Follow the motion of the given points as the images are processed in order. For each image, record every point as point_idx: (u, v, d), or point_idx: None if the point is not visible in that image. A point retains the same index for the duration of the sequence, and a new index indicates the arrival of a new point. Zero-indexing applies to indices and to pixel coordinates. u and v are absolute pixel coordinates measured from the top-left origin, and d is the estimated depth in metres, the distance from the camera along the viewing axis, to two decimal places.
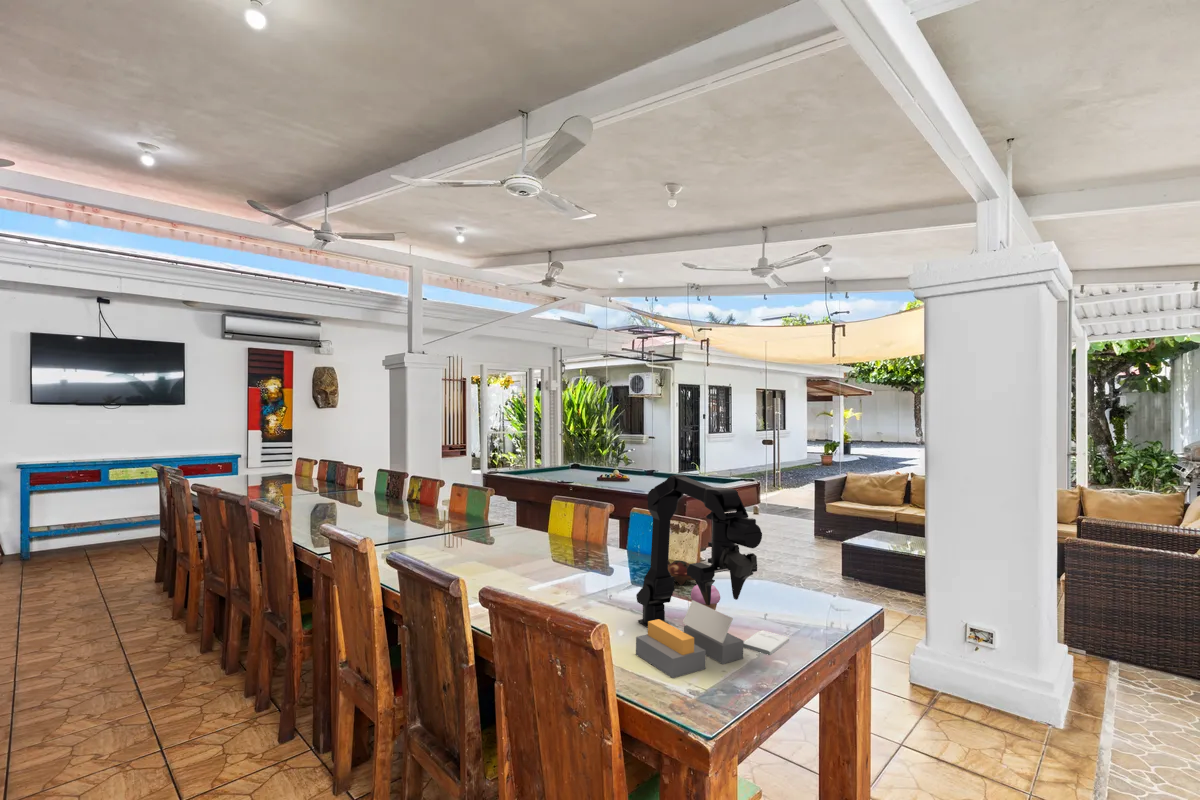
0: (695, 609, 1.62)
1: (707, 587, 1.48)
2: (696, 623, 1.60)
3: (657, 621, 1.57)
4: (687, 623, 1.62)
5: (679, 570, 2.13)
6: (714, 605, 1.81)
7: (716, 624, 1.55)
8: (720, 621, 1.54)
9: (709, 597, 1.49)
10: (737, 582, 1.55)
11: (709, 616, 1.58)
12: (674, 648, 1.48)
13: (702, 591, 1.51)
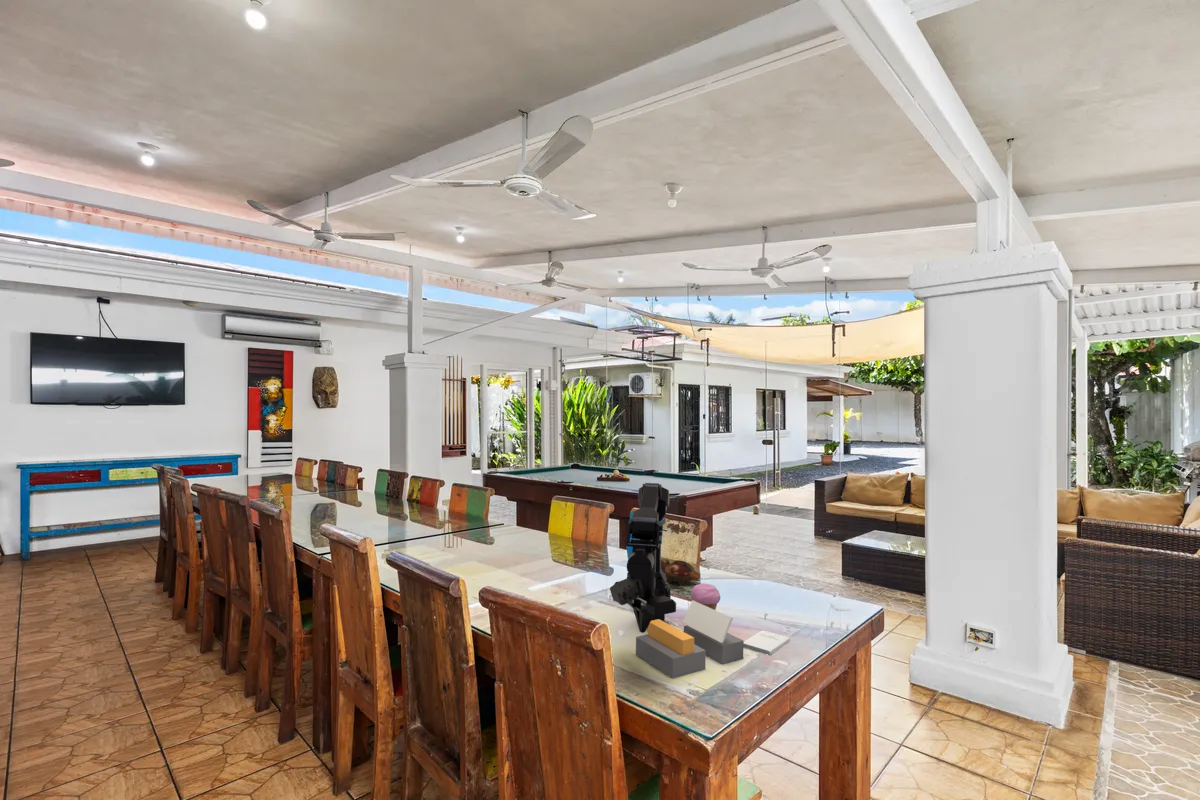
0: (695, 609, 1.62)
1: (633, 610, 1.48)
2: (696, 623, 1.60)
3: (657, 621, 1.57)
4: (687, 623, 1.62)
5: (679, 570, 2.13)
6: (714, 605, 1.81)
7: (716, 624, 1.55)
8: (720, 621, 1.54)
9: (638, 623, 1.47)
10: None
11: (709, 616, 1.58)
12: (674, 648, 1.48)
13: None
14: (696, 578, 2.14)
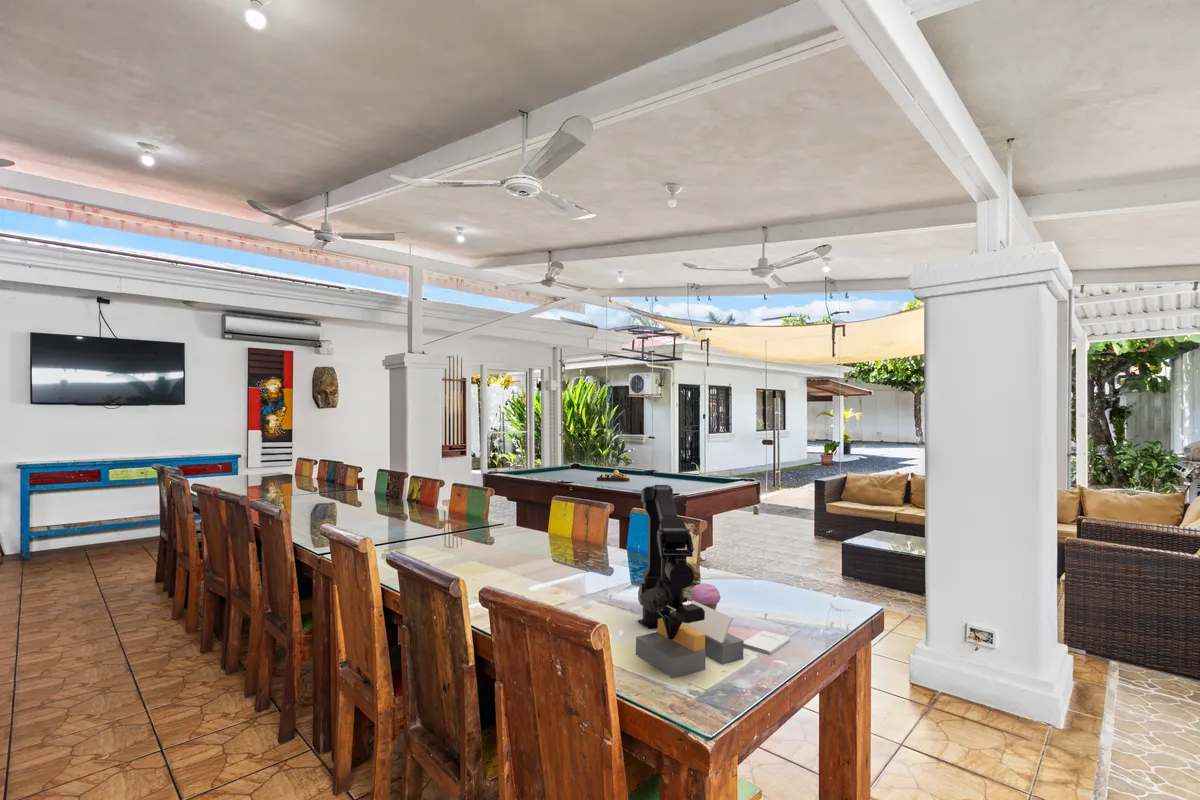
0: None
1: (662, 617, 1.53)
2: (696, 623, 1.60)
3: None
4: (687, 623, 1.62)
5: None
6: (714, 605, 1.81)
7: (716, 624, 1.55)
8: (720, 621, 1.54)
9: (666, 630, 1.52)
10: None
11: (709, 616, 1.58)
12: (685, 645, 1.49)
13: None
14: (696, 578, 2.14)
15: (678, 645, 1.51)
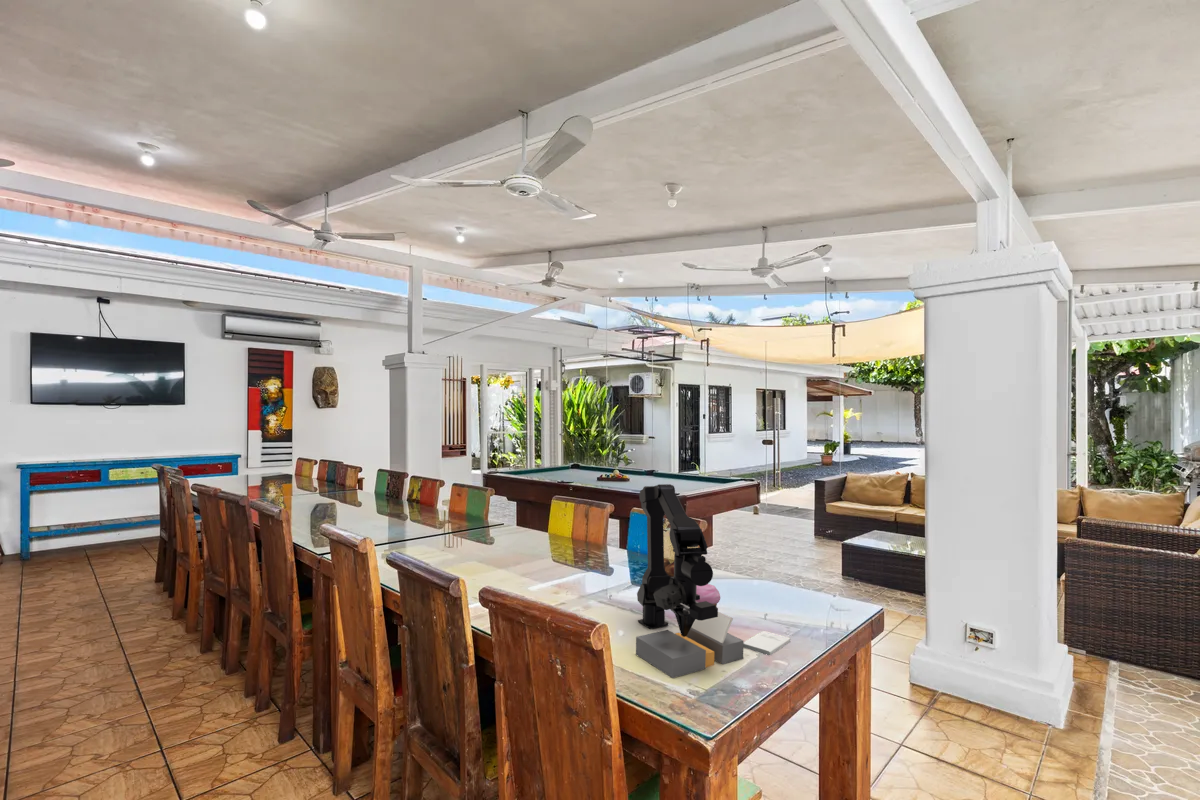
0: None
1: (675, 615, 1.55)
2: (696, 623, 1.60)
3: None
4: None
5: None
6: None
7: (716, 624, 1.55)
8: (720, 621, 1.54)
9: (679, 627, 1.54)
10: None
11: None
12: None
13: None
14: None
15: (678, 645, 1.51)
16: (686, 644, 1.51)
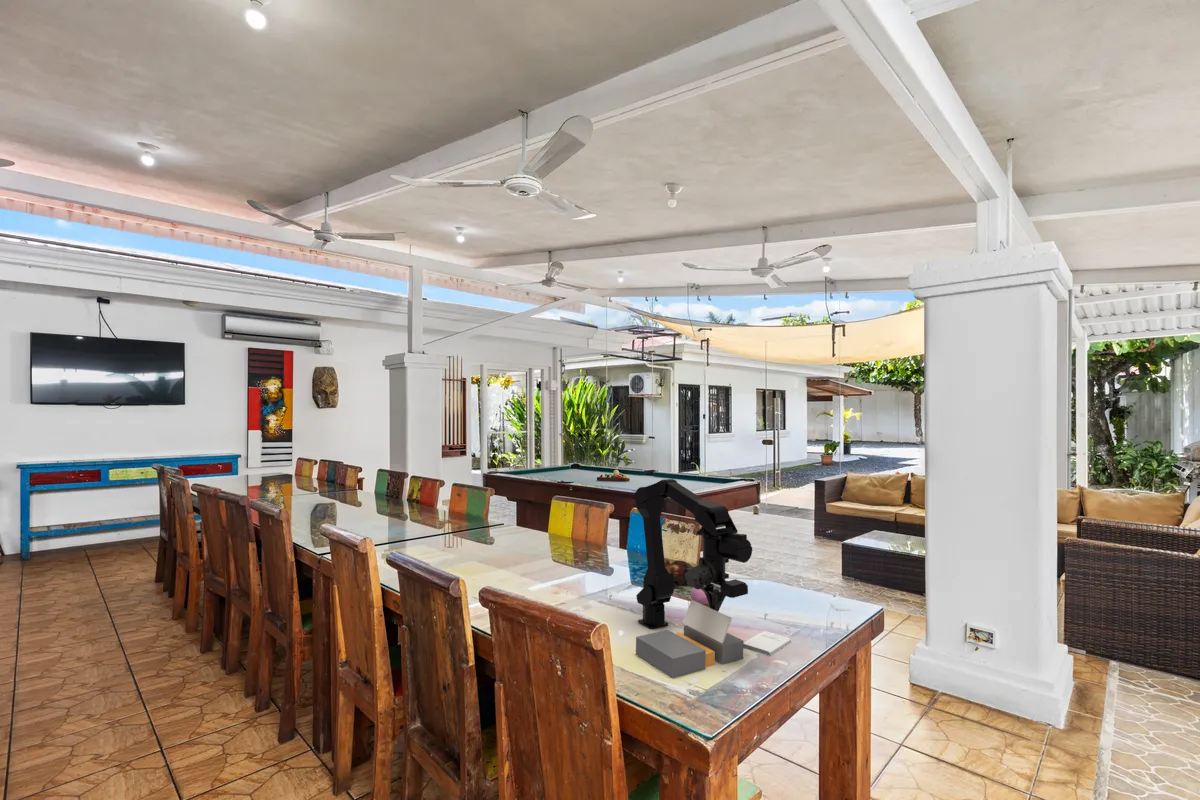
0: (694, 609, 1.62)
1: (705, 594, 1.60)
2: (695, 623, 1.60)
3: None
4: (687, 623, 1.62)
5: (679, 570, 2.13)
6: None
7: (715, 624, 1.55)
8: (719, 621, 1.54)
9: (710, 605, 1.59)
10: None
11: (708, 616, 1.58)
12: None
13: None
14: None
15: (678, 645, 1.51)
16: (686, 644, 1.51)
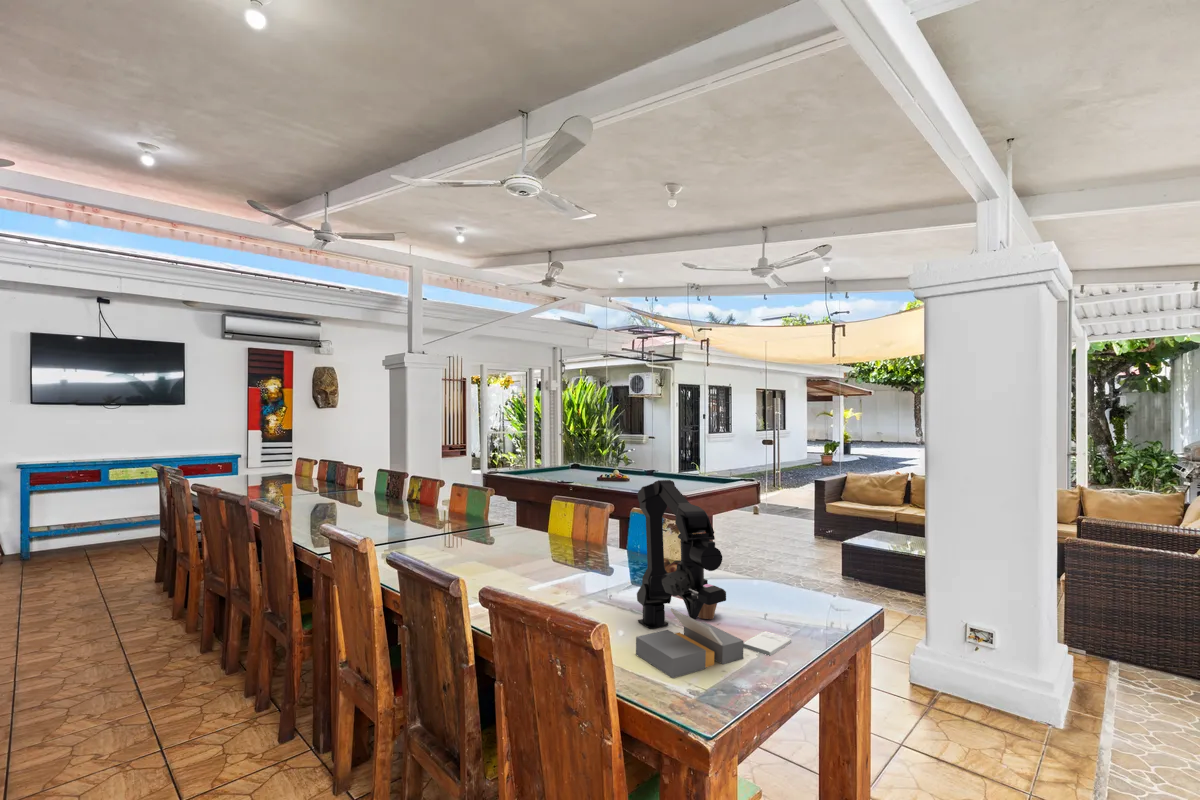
0: (680, 617, 1.60)
1: (684, 600, 1.56)
2: (691, 627, 1.59)
3: None
4: (686, 626, 1.62)
5: None
6: (714, 605, 1.81)
7: (704, 631, 1.53)
8: (704, 630, 1.51)
9: (688, 612, 1.55)
10: None
11: (693, 624, 1.55)
12: None
13: None
14: None
15: (678, 645, 1.51)
16: (686, 644, 1.51)
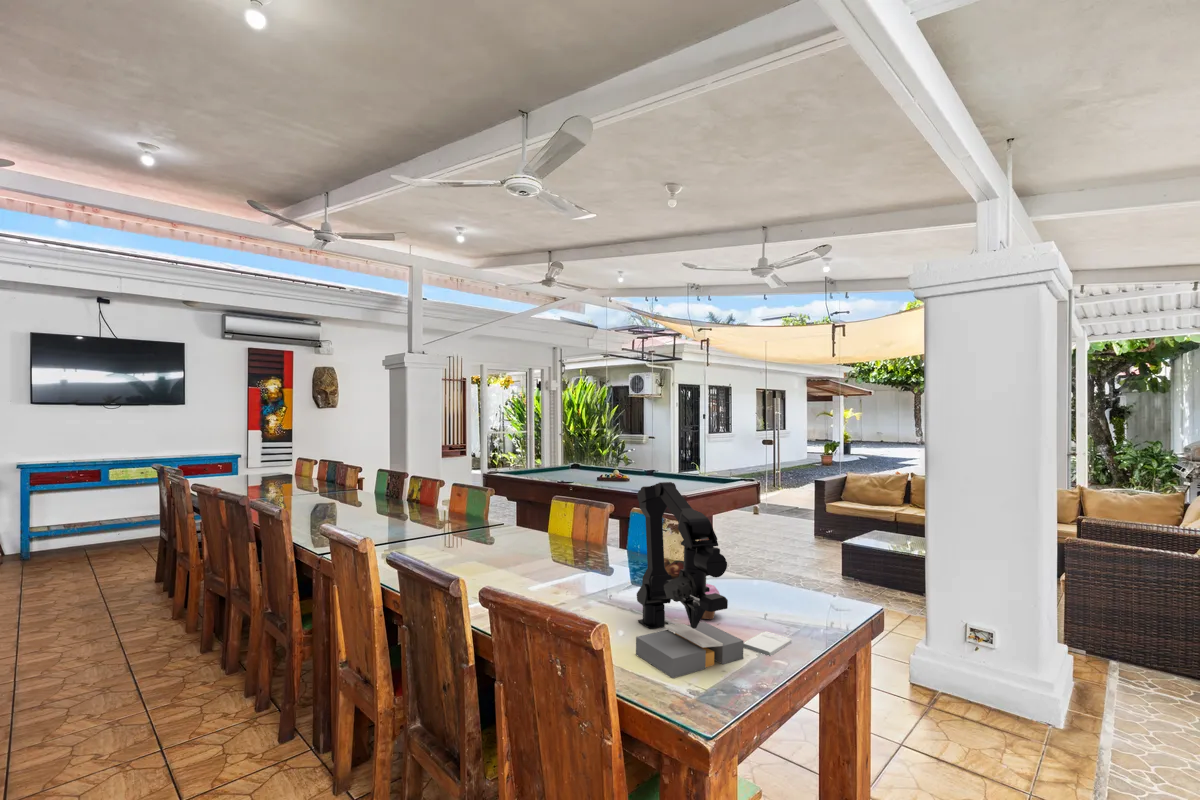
0: None
1: (685, 607, 1.56)
2: None
3: None
4: None
5: (679, 570, 2.13)
6: None
7: None
8: None
9: (689, 619, 1.56)
10: None
11: None
12: None
13: None
14: None
15: (678, 645, 1.51)
16: (686, 644, 1.51)
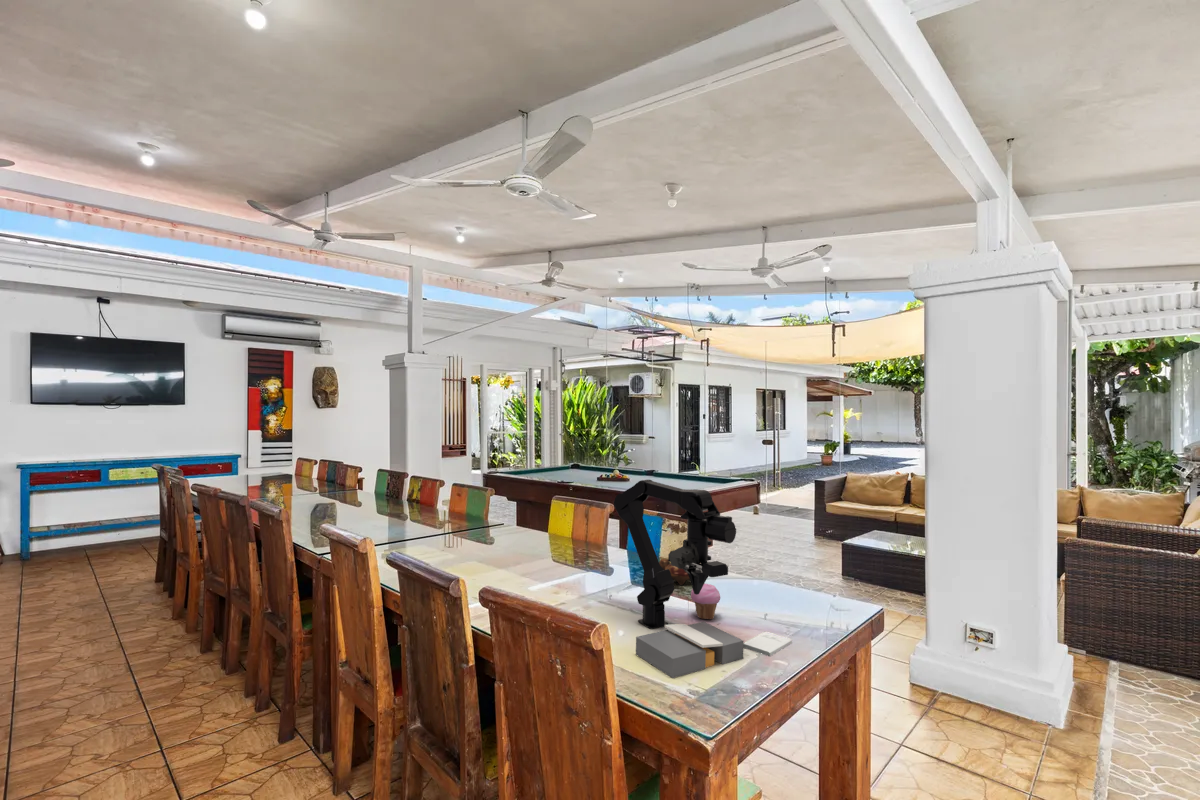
0: None
1: (688, 575, 1.68)
2: None
3: None
4: None
5: (679, 570, 2.13)
6: (714, 605, 1.81)
7: None
8: None
9: (692, 585, 1.67)
10: None
11: None
12: None
13: None
14: None
15: (678, 645, 1.51)
16: (686, 644, 1.51)
